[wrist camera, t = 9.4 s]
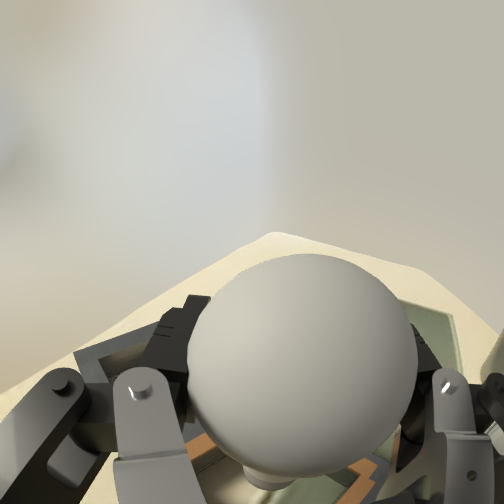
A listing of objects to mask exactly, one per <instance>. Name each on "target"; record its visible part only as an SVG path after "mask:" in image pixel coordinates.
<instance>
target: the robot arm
mask: <svg viewBox="0 0 504 504" xmlns="http://www.w3.org/2000/svg"><path fill="white" fill-rule="evenodd" d="M210 301H211V297H210V296H200V295H188V297H187V299H186V302H185V304H184V306H183V308H174V307H173V308H171V309H170V310H169V311H167V312H166V313H165V314H163V315H162V317H161V319H160V321H159V323H158V325H157V327H156V329H155V331H154V333H153V336H152V337H151V338H150V340H149V342H148V344H147V346H146V348H145V351H144V353H143V355H142V357H141V359H140V361H139V363H138V365H137V367H136V368H132V369H129V370H126V371H124V372H123V373H121V374H120V375H119V376H118V377H117V379H116V380H115V382H112V383H85V382H84V380H83V377H82V376H81V374H80V373H79V372H77V371H76V370H74V369H71V368H57V369H54V370H52V371H50V372H48V373H47V374H46V375H44V376H43V377H42V379H41V380H40V381H39V382H38V383H37V384H36V385H35V386H34V387H33V388H32V389H31V390H30V391H29V392H28V393H27V394H26V395H25V396H24V397H23V398H22V399H21V401H20V402H19V403H18V404H17V405H16V406H15V407H14V408H13V409H12V410H11V411H10V413H9V414H8V415H7V416H6V417H5V418H4V419H3V420H2V422H1V423H0V504H79V503H80V501H81V500H82V498H83V497H84V495H85V493H86V492H87V490H88V489H89V487H90V485H91V484H92V482H93V481H94V479H95V477H96V476H97V474H98V472H99V471H100V469H101V468H102V466H103V465H104V463H105V461H106V460H107V458H108V457H109V455H110V453H111V452H118V458H115V459H114V461H113V473H114V480H115V486H116V491H117V496H118V501H119V504H207V503H206V501H205V498H204V496H203V493H202V491H201V488H200V486H199V483H198V480H197V478H196V475H195V472H194V469H193V466H192V464H191V461H190V458H189V455H188V452H187V450H186V447H185V443H184V440H183V437H182V433H183V428H184V424H185V422H186V423H193V424H195V419H196V415H195V414H194V412H193V410H192V408H191V404H190V400H189V395H188V388H187V385H188V364H187V356H188V344H189V341H190V338H191V335H192V333H193V330H194V327H195V325H196V323H197V320H198V318H199V315H200V314H201V313H202V311H203V310H204V309H205V307H206V306H207V305H208V303H209V302H210ZM410 324H411V323H410ZM411 327H412V329H413V332H414V336H415V341H416V346H417V355H418V369H417V377H416V383H415V387H414V391H413V395H412V398H411V401H410V403H409V406H408V409H407V411H406V413H405V415H404V416H403V418H402V420H401V421H400V425H399V426H398V427H397V429H396V431H395V437H394V444H393V451H392V457H391V463H390V468H389V473H388V477H387V479H386V482H385V483H384V485H383V486H382V488H381V490H380V491H379V493H378V496H377V498H376V501H375V502H373V503H370V504H504V455H500V454H499V453H498V451H497V450H496V448H495V447H494V446H493V444H492V441H491V438H490V436H489V435H487V434H485V433H484V432H485V431H486V430H487V429H488V428H489V427H490V426H491V425H492V423H493V422H494V421H496V423H497V424H498V425H499V427H500V428H501V429H502V431H503V432H504V329H503V331H502V333H501V335H500V337H499V338H498V340H497V342H496V344H495V345H494V347H493V349H492V351H491V352H490V354H489V356H488V358H487V359H486V361H485V362H484V364H483V366H482V369H481V378H482V382H483V384H482V385H478V384H468V382H467V380H466V379H465V377H464V376H463V375H462V374H460V373H459V372H457V371H455V370H453V369H449V368H442V367H441V365H440V363H439V362H438V360H437V359H436V357H435V356H434V354H433V353H432V351H431V350H430V348H429V347H428V345H427V344H425V341H424V339H423V338H422V337H421V336H420V334H419V332H418V331H417V329H416V328H415V327H414V325H413V324H411Z"/></svg>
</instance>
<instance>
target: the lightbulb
mask: <svg viewBox="0 0 504 504" xmlns="http://www.w3.org/2000/svg"><path fill="white" fill-rule="evenodd" d="M187 364H188V385H187V388H188V395H189V400H190V404H191V408H192V410H193V412H194V414H195V415H196V417H197V419H198V421H199V422H200V424H201V426H202V428H203V429H204V431H205V432H206V434H207V435H208V437H209V438H210V439H211V440H212V441H213V442H214V443H215V444H216V445H217V446H218V447H219V448H220V449H221V450H222V451H223V452H224V453H225V454H226V455H228V456H229V457H231V458H232V459H234V460H236V461H237V462H239V463H240V464H242V465H243V470H244V474H245V477H246V478H247V480H248V481H249V482H250V483H251V484H252V485H253V486H255V487H257V488H259V489H262V490H267V491H275V490H280V489H283V488H286V487H287V486H289V485H290V484H291V483H293V482H294V481H295V480H296V479H298V478H309V477H318V476H322V475H326V474H330V473H334V472H337V471H340V470H342V469H344V468H346V467H348V466H350V465H352V464H354V463H356V462H357V461H359V460H361V459H363V458H365V457H366V456H368V455H370V454H371V453H373V452H374V451H375V450H376V449H377V448H378V447H379V446H380V445H382V444H383V443H384V442H385V441H386V440H387V439H388V438H389V436H390V435H391V434H392V433H393V431H394V430H395V429H396V428H397V426H398V424H399V423H400V421H401V420H402V418H403V416H404V415H405V413H406V411H407V409H408V406H409V403H410V401H411V398H412V395H413V391H414V387H415V383H416V377H417V369H418V355H417V346H416V341H415V336H414V332H413V329H412V327H411V324H410V322H409V319H408V317H407V315H406V313H405V311H404V308H403V306H402V305H401V303H400V302H399V301H398V299H397V298H396V297H395V296H394V294H393V293H392V292H391V291H390V290H389V289H388V288H387V287H386V286H385V285H384V284H383V283H382V282H381V281H380V280H379V279H377V278H376V277H374V276H373V275H371V274H370V273H368V272H367V271H365V270H363V269H362V268H360V267H359V266H357V265H355V264H353V263H350V262H348V261H345V260H342V259H339V258H335V257H331V256H325V255H317V254H297V255H291V256H285V257H280V258H274V259H271V260H268V261H265V262H263V263H260V264H258V265H256V266H253V267H251V268H249V269H247V270H245V271H243V272H241V273H240V274H238V275H237V276H236V277H235V278H233V279H232V280H231V281H230V282H229V283H227V284H226V285H225V286H224V287H223V288H221V289H220V290H219V291H218V292H217V293H216V295H215V296H214V297H213V298H212V300H211V301H210V302H209V303H208V305H207V306H206V307H205V309H204V310H203V311H202V313H201V314H200V315H199V318H198V320H197V323H196V325H195V327H194V330H193V333H192V335H191V338H190V341H189V344H188V356H187Z"/></svg>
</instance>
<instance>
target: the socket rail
mask: <svg viewBox="0 0 504 504" xmlns="http://www.w3.org/2000/svg"><path fill="white" fill-rule="evenodd" d="M158 323H159V321H158V322H155V323H152V324H150V325H147V326H144V327H142V328H139V329H136V330H134V331H131V332H128V333H126V334H123V335H120V336H117V337H115V338H112V339H109V340H106V341H104V342H101V343H98V344H95V345H92V346H90V347H87V348H84V349H81V350H78V351H75V352H73V354H74V357H75V360H76V362H77V365H78V368H79V370H80V373H81V375H82V377H83V380H84V382H85V383H109V381H108V379H107V378H108V377H110V376H113V375H115V374H118V373H120V372H123V371H125V370H128V369H130V368H133V367H135V366H137V365H138V363H139V361H140V359H141V357H142V355H143V353H144V351H145V348H146V346H147V344H148V342H149V340H150V338H151V337H152V336H153V333H154V331H155V329H156V327H157V325H158ZM182 437H183V440H184V443H185V447H186V450H187V452H188V455H189V458H190V461H191V464H192V466H193V469H194V472H195V474H197V473H199V472H200V471H202V470H204V469H205V468H207V467H209V466H210V465H212V464H214V463H215V462H217V461H218V460H220V459H222V458H223V457H225V456H226V454H225V453H224V452H223V451H222V450H221V449H220V448H219V447H218V446H217V445H216V444H215V443H214V442H213V441H212V440H211V439H210V438H209V437H208V435H207V434H206V432H205V431H204V429H203V428H202V426H201V424H200V422H199V421H198V419H197V417H196V419H195V424H193V423H186V422H185V424H184V428H183V433H182ZM389 468H390V463H389V462H387V461H385V460H384V459H382V458H380V457H378V456H376V455H375V454H373V453H371V454H370V455H368V456H366V457H365V458H363V459H361V460H359V461H357V462H356V463H354V464H352V465H350V466H348V467H346V468H344V469H342V470H340V471H337V472H334V473H330V474H326V475H327V476H329V477H330V478H332V479H333V480H335V481H337V482H338V483H340V484H342V485H343V486H345V487H347V488H346V489H345V490H344V491H343V492H342V493H341V494H340V495H339V497H338V498H337V499H336V500H335V501H334V502H333V503H332V504H370V503H373V502H375V500H376V498H377V496H378V493H379V491H380V490H381V488H382V486H383V485H384V483H385V482H386V479H387V477H388V473H389Z"/></svg>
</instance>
